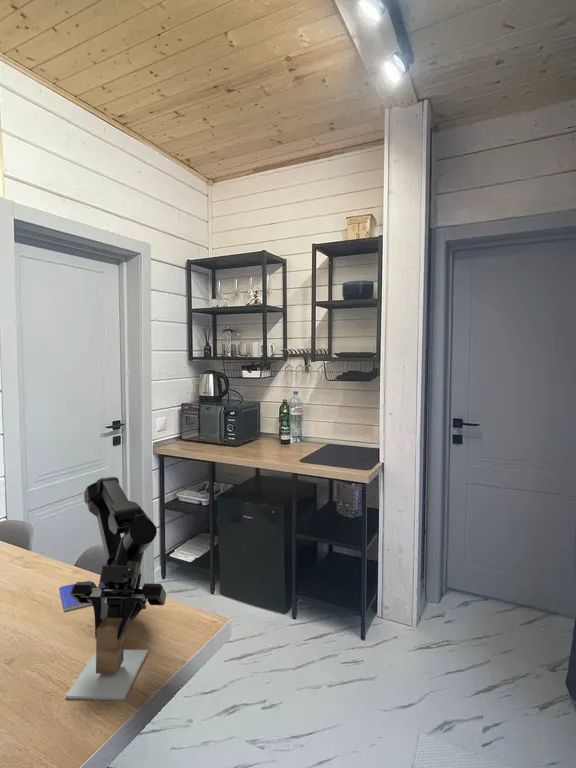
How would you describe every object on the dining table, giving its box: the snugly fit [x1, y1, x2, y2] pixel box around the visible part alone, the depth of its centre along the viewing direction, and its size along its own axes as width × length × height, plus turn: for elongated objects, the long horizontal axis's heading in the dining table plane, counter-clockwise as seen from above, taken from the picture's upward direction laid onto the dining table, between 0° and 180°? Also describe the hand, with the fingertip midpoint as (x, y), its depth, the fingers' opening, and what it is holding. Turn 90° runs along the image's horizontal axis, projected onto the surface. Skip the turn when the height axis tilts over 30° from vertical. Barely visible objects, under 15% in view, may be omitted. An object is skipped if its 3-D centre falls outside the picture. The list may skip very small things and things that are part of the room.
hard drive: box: [58, 580, 92, 612], centre depth 119 cm, size 2×8×12 cm
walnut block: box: [95, 618, 125, 674], centre depth 89 cm, size 4×4×9 cm
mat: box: [65, 649, 149, 701], centre depth 89 cm, size 14×11×1 cm
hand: (107, 638), depth 88 cm, fingers closed on walnut block, 4 cm apart
